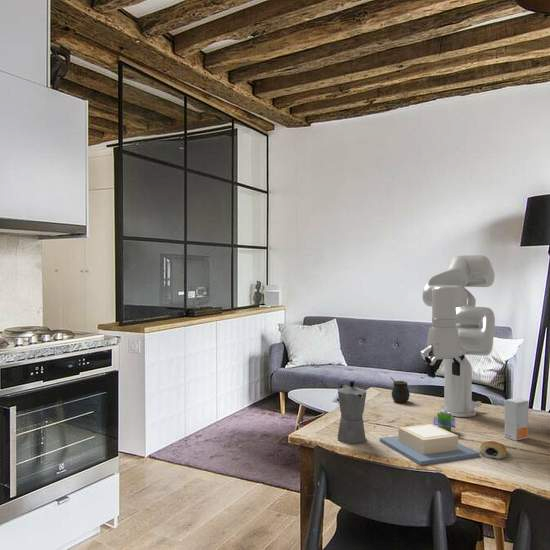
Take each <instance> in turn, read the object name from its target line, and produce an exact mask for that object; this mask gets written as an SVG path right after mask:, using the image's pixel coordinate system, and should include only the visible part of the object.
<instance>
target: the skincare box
mask: <svg viewBox="0 0 550 550" xmlns="http://www.w3.org/2000/svg"><path fill="white" fill-rule="evenodd" d="M504 438H507V439H510V440H513V441H515V442H516V441H521V440H525V439H528V438H529V400H527V399H524V398H523V399H522V398H519V397H514V398H508V399H505V400H504Z"/></svg>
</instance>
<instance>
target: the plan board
mask: <svg viewBox="0 0 550 550" xmlns="http://www.w3.org/2000/svg"><path fill="white" fill-rule="evenodd" d="M379 442H380V443H382V444H384V445H385V446H387V447H389V448H391V449H392V450H394V451H396V452H397V453H398V454H400V455H403V456H404V457H405V458H407V459H409V460H410V461H411V462H412V461H413V462H414V463H416V464H417V465H418V466H419V465H420V466H424V465H431V464H439V463H444V462H451V461H458V460H463V459H465V460H466V459H472V458H477V457H478V458H480V457H481V454H480V451H479V452H478V451H477V450H474V449H473V448H470V447H468V446H466V445H464V444H462V443H460V442H459V435H458V434H455V433H453V432H452V431H451V432H449V431H446V430H444V429H442V428H440V427H438V426H436V425H433V423H426V424H418V425H417V424H416V425H411V426H410V425H409V426H408V425H407V426H402V427H398V435H393V436H387V437H386V436H385V437H380V438H379Z"/></svg>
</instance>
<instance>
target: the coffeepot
mask: <svg viewBox="0 0 550 550" xmlns="http://www.w3.org/2000/svg"><path fill="white" fill-rule="evenodd" d="M354 385H355V381H354V380H350V381H349V386H348V385H346V384H344V383H341V384H340V385H339V388H338V389H337V396H338V402H339V403H338V404H339V411H340V419H339V424H338V425H339V427H338V431H337V440H338V441H340V442H342V443H345V444H346V443H347V444H361V443H364V442H366V441H367V440H366V439H367V438H366V431H365V425H364V420H363V419H364V418H363V414H364V410H365V406H366V398H367V390H366V389H364V388H359V387H355V386H354Z"/></svg>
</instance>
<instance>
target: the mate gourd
mask: <svg viewBox="0 0 550 550" xmlns="http://www.w3.org/2000/svg"><path fill="white" fill-rule="evenodd" d="M390 379H391V380H392V381H393V386H392V387H393V388H392V390H391V397H392V400H393V401H394V402H395V403H399V404H400V403H401V404H405V403H407V402H408V401H409V399H410V390H409V388H408V381H405V380H395V379H394V378H393V377H390Z"/></svg>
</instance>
